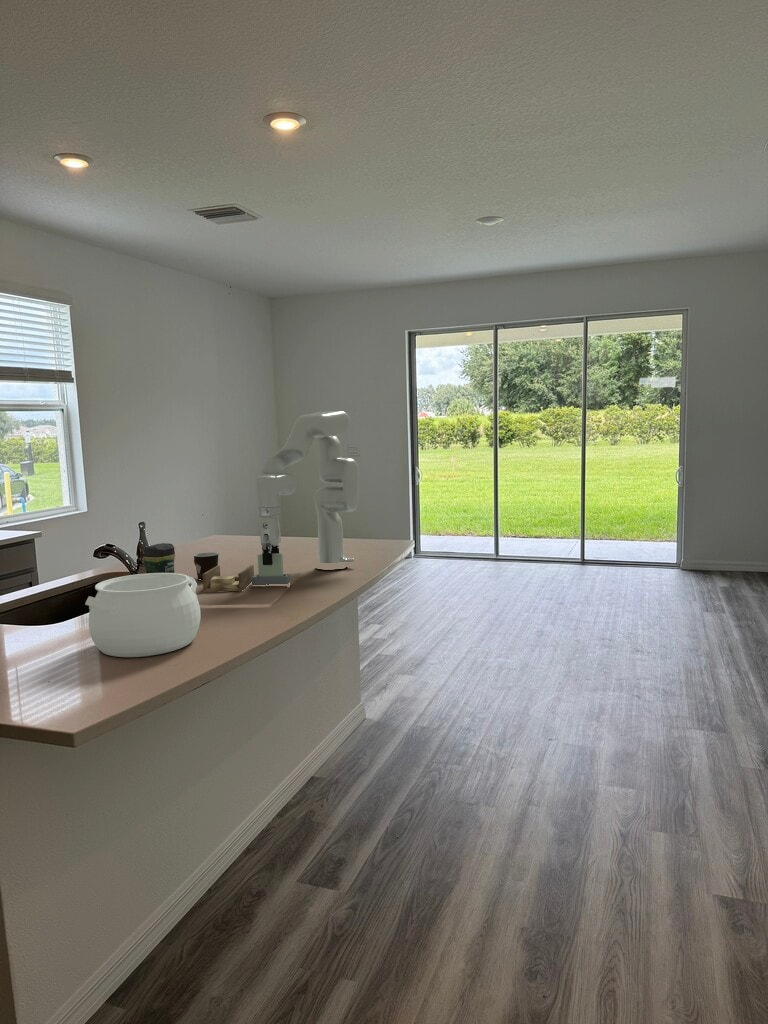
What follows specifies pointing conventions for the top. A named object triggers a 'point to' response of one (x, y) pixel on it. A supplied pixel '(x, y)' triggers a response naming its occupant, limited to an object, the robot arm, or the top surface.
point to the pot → (144, 614)
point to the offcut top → (223, 580)
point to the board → (271, 566)
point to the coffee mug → (205, 562)
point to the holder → (270, 579)
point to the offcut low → (234, 585)
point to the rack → (243, 579)
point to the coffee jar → (159, 558)
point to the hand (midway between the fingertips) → (271, 562)
